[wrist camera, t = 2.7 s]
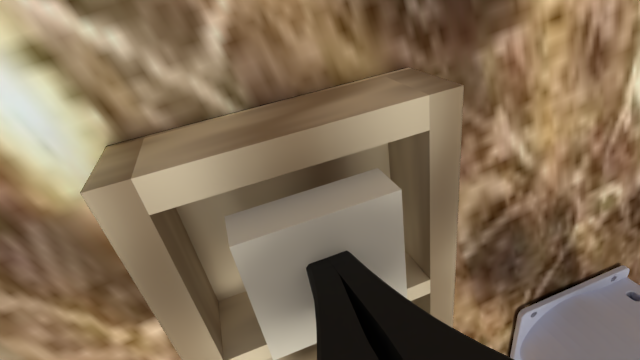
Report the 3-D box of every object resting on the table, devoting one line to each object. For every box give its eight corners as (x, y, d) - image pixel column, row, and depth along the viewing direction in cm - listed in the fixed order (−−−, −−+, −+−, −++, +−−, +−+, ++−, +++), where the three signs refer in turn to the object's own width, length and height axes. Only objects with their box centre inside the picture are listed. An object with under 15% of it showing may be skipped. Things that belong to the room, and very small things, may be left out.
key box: (409, 67, 13) (463, 85, 11) (420, 400, 26) (447, 448, 23) (106, 146, 11) (79, 193, 9) (274, 468, 23) (285, 530, 21)
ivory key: (356, 148, 13) (401, 189, 10) (369, 251, 15) (407, 306, 13) (220, 189, 12) (228, 247, 9) (257, 291, 14) (273, 360, 12)
